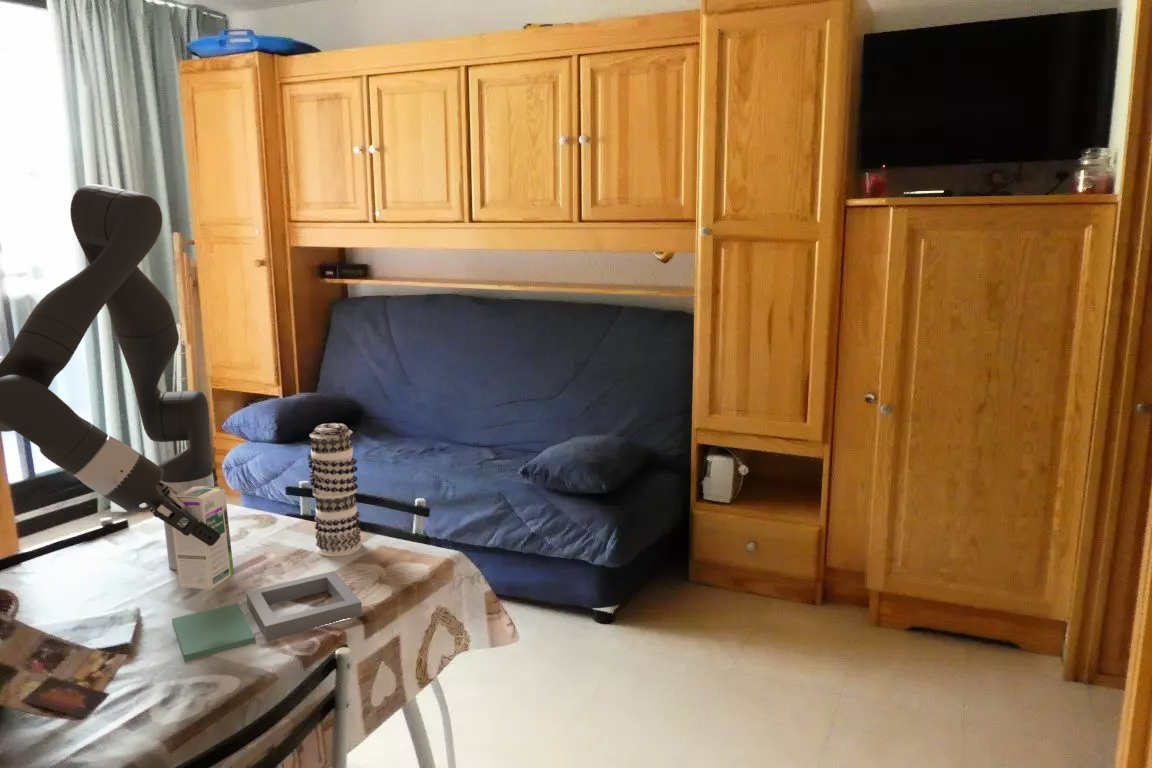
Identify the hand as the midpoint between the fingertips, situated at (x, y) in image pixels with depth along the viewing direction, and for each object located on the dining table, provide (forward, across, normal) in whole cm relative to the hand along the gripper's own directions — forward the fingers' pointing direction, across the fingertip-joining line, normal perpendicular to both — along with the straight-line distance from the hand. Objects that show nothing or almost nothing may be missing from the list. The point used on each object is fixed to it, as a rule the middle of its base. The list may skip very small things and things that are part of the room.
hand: (211, 532), depth 127 cm
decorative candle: (+30, +24, -7) cm, 39 cm away
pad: (+11, 0, +12) cm, 17 cm away
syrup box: (+5, 0, +6) cm, 8 cm away
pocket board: (+21, 0, +2) cm, 21 cm away
